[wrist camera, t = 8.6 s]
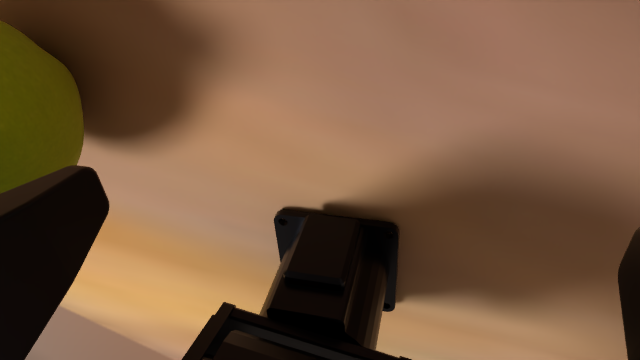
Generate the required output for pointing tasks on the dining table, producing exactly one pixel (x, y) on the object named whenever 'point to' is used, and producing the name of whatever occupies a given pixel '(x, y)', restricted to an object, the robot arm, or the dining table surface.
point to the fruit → (35, 112)
